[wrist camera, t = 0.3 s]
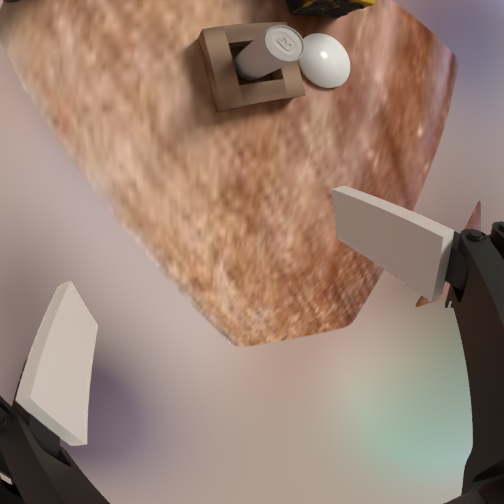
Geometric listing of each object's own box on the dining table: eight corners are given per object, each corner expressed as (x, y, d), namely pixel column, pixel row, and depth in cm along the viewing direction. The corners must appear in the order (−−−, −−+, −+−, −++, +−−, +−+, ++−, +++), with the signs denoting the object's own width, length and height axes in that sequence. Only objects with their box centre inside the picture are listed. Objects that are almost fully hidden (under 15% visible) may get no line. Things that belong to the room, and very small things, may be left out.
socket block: (198, 37, 28) (202, 29, 25) (276, 29, 30) (286, 22, 27) (217, 112, 33) (223, 110, 30) (293, 97, 36) (305, 95, 33)
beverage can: (247, 46, 30) (283, 17, 20) (270, 67, 33) (313, 47, 22) (224, 65, 31) (254, 39, 20) (249, 87, 33) (286, 70, 23)
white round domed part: (289, 34, 31) (291, 32, 30) (339, 35, 33) (342, 34, 32) (303, 90, 36) (306, 89, 35) (352, 86, 38) (355, 86, 37)
